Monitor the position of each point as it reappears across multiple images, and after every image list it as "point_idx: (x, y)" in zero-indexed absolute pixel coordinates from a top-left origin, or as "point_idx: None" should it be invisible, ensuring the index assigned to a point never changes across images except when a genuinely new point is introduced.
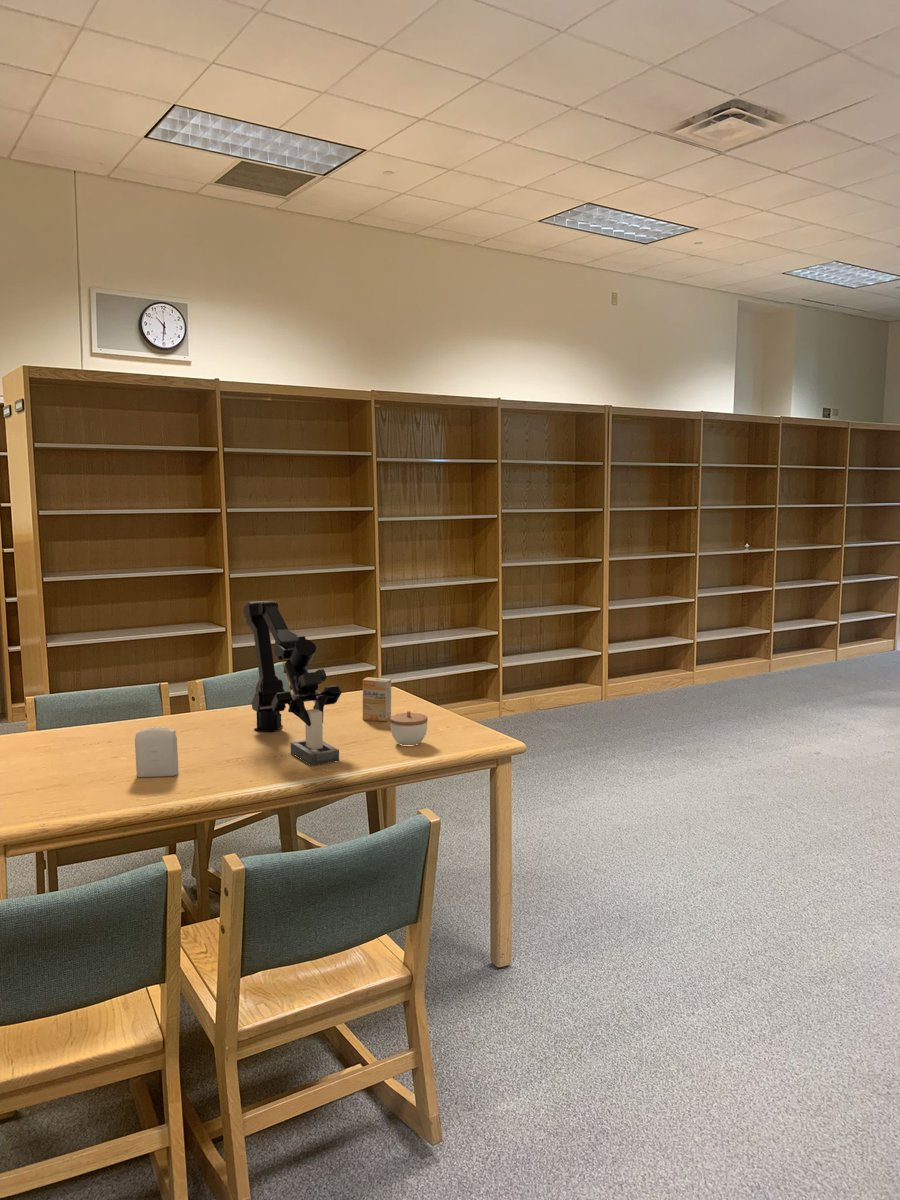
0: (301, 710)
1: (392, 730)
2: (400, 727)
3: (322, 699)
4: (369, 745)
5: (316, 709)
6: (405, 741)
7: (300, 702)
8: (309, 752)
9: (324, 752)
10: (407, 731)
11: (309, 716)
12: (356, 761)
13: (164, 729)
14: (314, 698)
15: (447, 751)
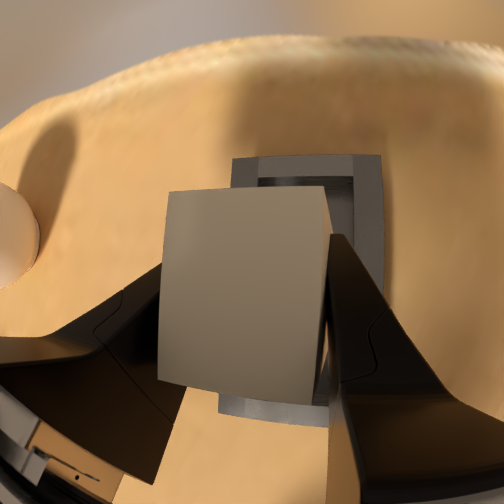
0: (412, 346)
1: (13, 240)
2: (1, 200)
3: (16, 346)
4: (82, 297)
5: (168, 346)
6: (29, 207)
7: (444, 427)
8: (374, 196)
9: (308, 156)
10: (7, 188)
11: (325, 259)
12: (199, 145)
13: None
14: (76, 487)
15: (25, 143)
